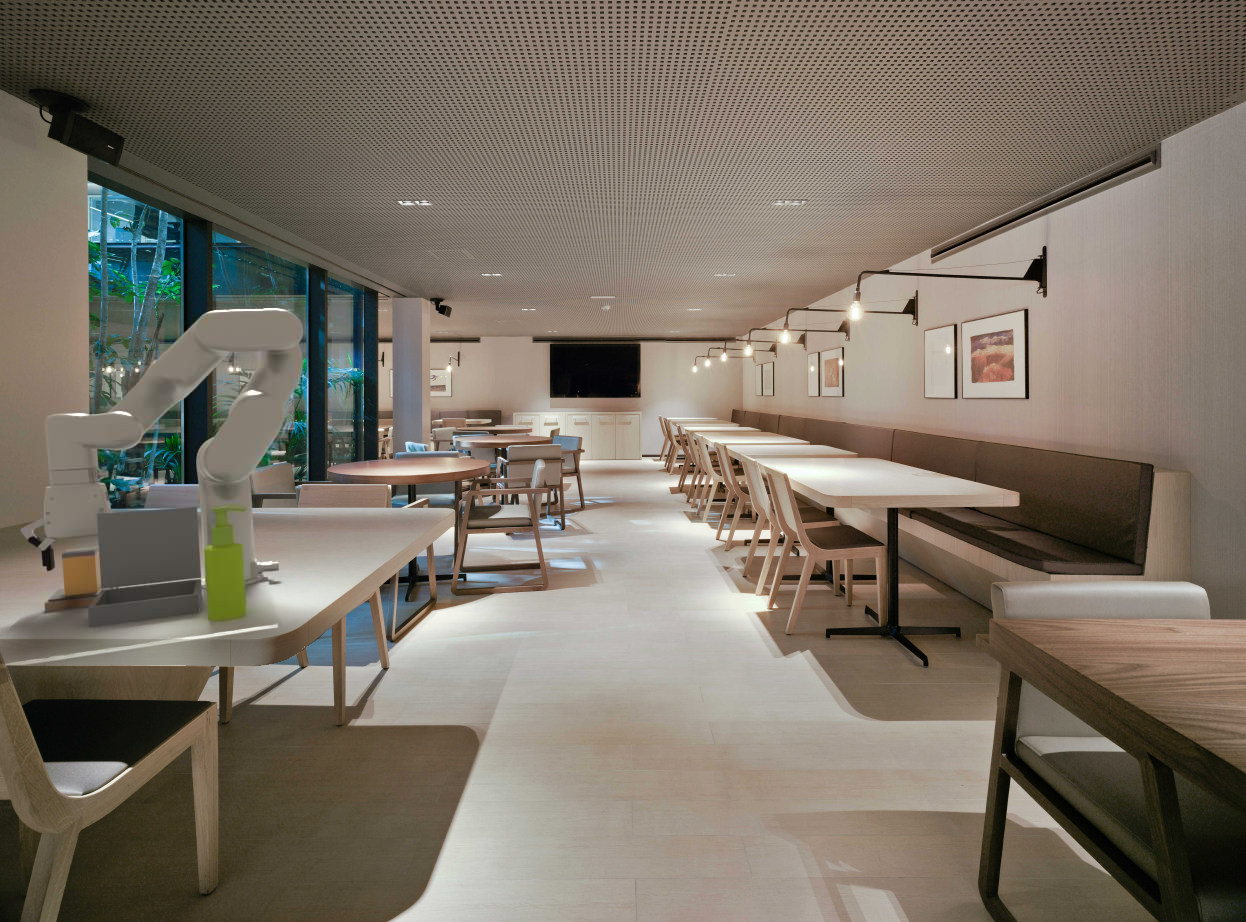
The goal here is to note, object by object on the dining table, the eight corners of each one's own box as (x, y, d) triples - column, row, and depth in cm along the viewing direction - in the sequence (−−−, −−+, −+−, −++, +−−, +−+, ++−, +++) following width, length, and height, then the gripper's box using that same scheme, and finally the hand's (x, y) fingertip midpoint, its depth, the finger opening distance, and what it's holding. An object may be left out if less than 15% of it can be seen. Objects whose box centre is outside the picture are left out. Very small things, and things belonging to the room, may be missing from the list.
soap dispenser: (249, 621, 124) (242, 507, 123) (204, 625, 122) (197, 510, 121) (256, 612, 130) (249, 503, 128) (213, 616, 128) (206, 506, 126)
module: (101, 586, 141) (98, 546, 140) (97, 592, 137) (94, 551, 136) (70, 590, 138) (67, 549, 138) (64, 595, 134) (61, 554, 134)
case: (202, 598, 140) (201, 578, 140) (199, 616, 128) (198, 594, 128) (102, 611, 133) (101, 590, 132) (89, 631, 120) (87, 607, 120)
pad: (118, 594, 144) (118, 582, 144) (111, 606, 136) (110, 593, 136) (57, 602, 140) (56, 589, 139) (45, 614, 131) (44, 600, 131)
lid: (200, 577, 140) (201, 576, 141) (196, 506, 140) (197, 506, 141) (101, 588, 132) (102, 588, 134) (96, 513, 132) (98, 513, 134)
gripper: (131, 473, 143) (138, 557, 145) (21, 479, 135) (30, 568, 136) (127, 476, 137) (134, 564, 138) (11, 483, 128) (19, 576, 130)
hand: (82, 566), depth 137 cm, fingers open, 9 cm apart
